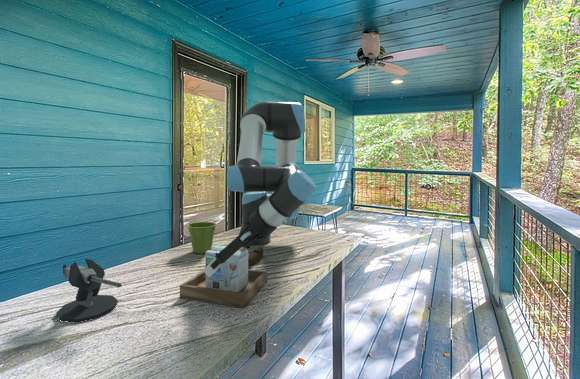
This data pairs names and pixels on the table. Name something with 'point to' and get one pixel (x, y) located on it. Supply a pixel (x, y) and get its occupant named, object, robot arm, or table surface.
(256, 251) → the rusty artillery shell
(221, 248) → the light bulb box
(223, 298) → the walnut tray
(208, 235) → the plant pot
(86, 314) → the gun turret
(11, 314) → the table surface
